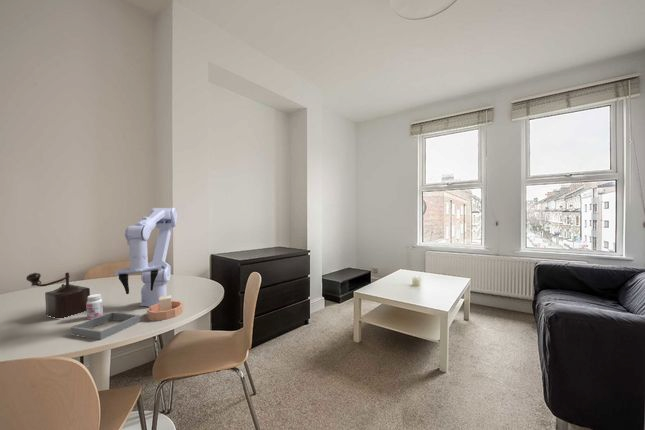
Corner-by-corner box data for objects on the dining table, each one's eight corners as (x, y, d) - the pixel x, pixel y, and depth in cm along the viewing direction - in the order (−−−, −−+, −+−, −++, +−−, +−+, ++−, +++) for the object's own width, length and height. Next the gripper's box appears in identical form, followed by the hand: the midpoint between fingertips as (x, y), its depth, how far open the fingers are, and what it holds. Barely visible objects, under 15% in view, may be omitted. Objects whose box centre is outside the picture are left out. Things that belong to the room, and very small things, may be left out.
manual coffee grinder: (76, 306, 115) (74, 265, 114) (91, 309, 111) (89, 267, 110) (26, 320, 100) (23, 273, 100) (41, 325, 96) (38, 276, 96)
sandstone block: (159, 315, 102) (159, 299, 102) (160, 311, 106) (159, 296, 106) (171, 313, 104) (170, 298, 104) (171, 309, 108) (171, 295, 107)
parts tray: (71, 334, 89) (70, 327, 89) (113, 318, 102) (112, 311, 102) (100, 339, 85) (100, 332, 85) (140, 321, 98) (140, 315, 98)
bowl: (140, 318, 101) (139, 310, 101) (166, 306, 112) (166, 299, 112) (165, 321, 98) (164, 313, 98) (189, 309, 109) (189, 302, 109)
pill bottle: (85, 320, 100) (84, 298, 100) (89, 315, 104) (88, 294, 104) (101, 317, 102) (100, 296, 102) (104, 313, 106) (103, 292, 106)
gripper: (113, 260, 94) (114, 298, 95) (160, 256, 102) (161, 291, 102) (116, 257, 100) (117, 292, 101) (160, 253, 108) (162, 286, 108)
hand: (139, 291), depth 102 cm, fingers open, 7 cm apart
